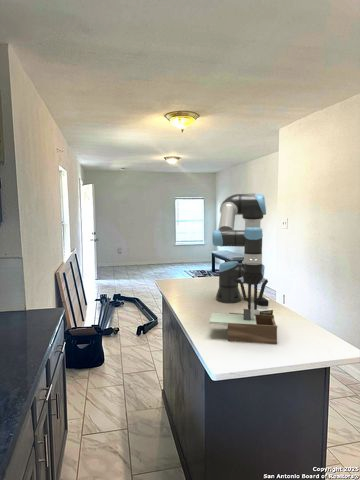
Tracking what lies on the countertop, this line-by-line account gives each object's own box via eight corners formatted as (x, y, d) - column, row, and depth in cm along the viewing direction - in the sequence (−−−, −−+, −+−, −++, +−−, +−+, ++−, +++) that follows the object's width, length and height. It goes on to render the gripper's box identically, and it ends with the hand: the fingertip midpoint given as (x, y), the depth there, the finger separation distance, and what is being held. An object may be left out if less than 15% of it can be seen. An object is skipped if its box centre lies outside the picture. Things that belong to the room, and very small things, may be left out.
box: (228, 328, 150) (229, 312, 149) (273, 331, 146) (273, 315, 145) (227, 340, 136) (227, 323, 135) (276, 344, 132) (277, 326, 132)
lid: (212, 314, 149) (212, 304, 149) (255, 317, 146) (255, 306, 145) (209, 323, 138) (209, 312, 138) (256, 326, 134) (256, 315, 134)
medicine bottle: (259, 325, 154) (260, 300, 153) (252, 320, 161) (252, 296, 160) (272, 323, 156) (273, 299, 155) (265, 318, 163) (265, 295, 162)
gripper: (237, 264, 135) (237, 318, 138) (269, 265, 133) (268, 320, 135) (237, 261, 143) (237, 313, 145) (267, 262, 140) (266, 314, 143)
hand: (252, 316), depth 140 cm, fingers closed
